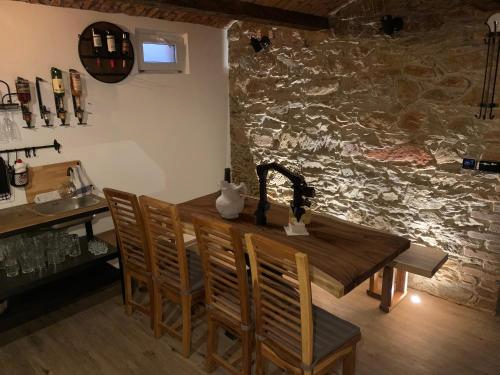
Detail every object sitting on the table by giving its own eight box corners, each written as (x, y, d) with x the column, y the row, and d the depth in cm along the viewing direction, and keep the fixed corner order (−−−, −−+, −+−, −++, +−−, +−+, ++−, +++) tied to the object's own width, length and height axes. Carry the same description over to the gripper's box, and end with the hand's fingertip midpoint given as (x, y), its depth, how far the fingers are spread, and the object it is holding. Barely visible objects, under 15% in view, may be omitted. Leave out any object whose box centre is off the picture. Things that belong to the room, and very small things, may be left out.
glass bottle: (217, 209, 284) (217, 171, 276) (213, 202, 300) (213, 166, 293) (241, 207, 288) (242, 170, 281) (236, 200, 305) (236, 165, 298)
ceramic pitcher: (248, 214, 277) (249, 179, 273) (245, 221, 258) (246, 184, 254) (218, 212, 279) (218, 178, 275) (213, 220, 260) (213, 183, 256)
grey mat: (287, 235, 236) (287, 234, 236) (283, 227, 249) (283, 226, 249) (309, 235, 237) (309, 234, 237) (303, 226, 251) (303, 226, 251)
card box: (301, 228, 247) (301, 221, 246) (304, 231, 242) (304, 224, 241) (288, 229, 245) (288, 222, 244) (291, 232, 240) (291, 225, 238)
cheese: (300, 226, 251) (300, 212, 249) (288, 222, 259) (288, 207, 257) (311, 223, 258) (311, 208, 255) (299, 219, 266) (299, 204, 263)
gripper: (314, 199, 229) (313, 225, 233) (307, 191, 247) (306, 214, 251) (296, 200, 228) (295, 225, 232) (289, 191, 246) (289, 215, 250)
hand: (296, 219), depth 241 cm, fingers open, 9 cm apart
